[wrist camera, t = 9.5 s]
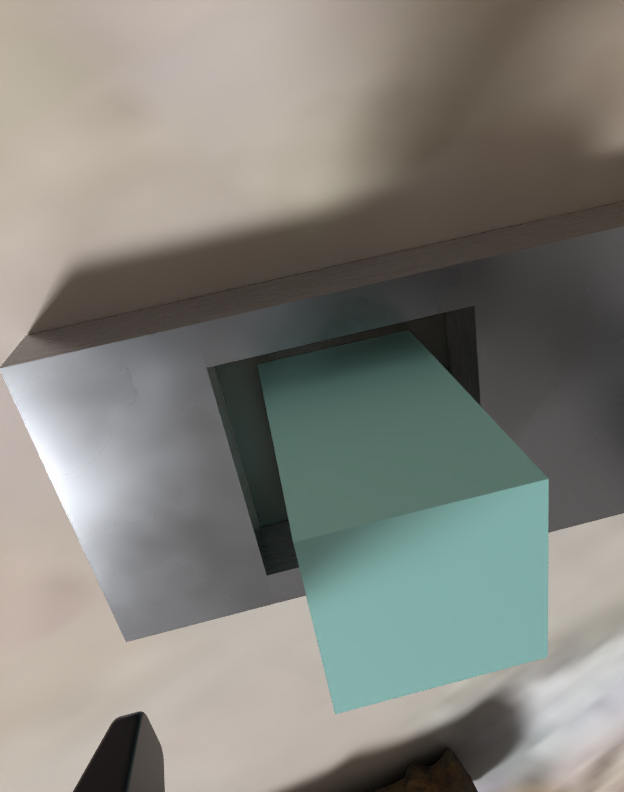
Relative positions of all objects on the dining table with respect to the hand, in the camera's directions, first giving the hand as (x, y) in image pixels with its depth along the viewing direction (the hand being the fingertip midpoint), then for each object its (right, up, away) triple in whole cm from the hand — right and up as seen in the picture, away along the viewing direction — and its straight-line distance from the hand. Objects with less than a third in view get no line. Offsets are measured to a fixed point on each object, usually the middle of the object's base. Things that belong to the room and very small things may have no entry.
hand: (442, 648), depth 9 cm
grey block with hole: (+2, +4, +7) cm, 9 cm away
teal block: (-1, +3, +7) cm, 8 cm away
